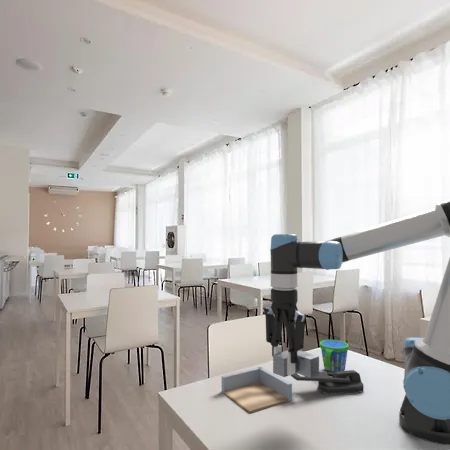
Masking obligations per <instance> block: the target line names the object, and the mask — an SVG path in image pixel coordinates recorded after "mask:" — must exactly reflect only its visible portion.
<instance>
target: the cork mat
mask: <svg viewBox="0 0 450 450" xmlns="http://www.w3.org/2000/svg"><path fill="white" fill-rule="evenodd" d="M223 394H224V395H226V397H228V398H230V399H231V400H232V401H233V402H235V403H236V404H237V405H239V406H240V408H242V409H243V410H245V411H247V412H248V413H249V414H252V413H254V412H257V411H262V410H264V409H267V408H271V407H274V406H277V405H280V404H283V403H286V402H287V403H288V402H289V401H288V399H287V398H286V397H284V396H283V395H281V394H279V393H278V392H276V391H274V390H273V389H271V388H269V387H268V386H266V385H264V384H263V383H261V382H257V383H253V384H250V385H246V386H242V387H238V388H234V389H231V390H227V391H224V393H223Z"/></svg>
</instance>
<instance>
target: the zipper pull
mask: <svg viewBox="0 0 450 450" xmlns="http://www.w3.org/2000/svg"><path fill="white" fill-rule="evenodd" d="M290 377H291V378H292V379H294V380H295V381H301V382H302V381H304V382H317V383H318V384H317V385H318V386H317V387H318V391H320V392H322V393H323V394H327V395H344V394H345V395H346V394H348V395H349V394H360V393H362V392H364V383H363V382H362V377H361V375H360V373H359V372H357V371H356V370H354V369H353V370H352V369H351V370H349V369H348V370H344V371H337V372H334V373H330V372H328V371H326V372H325V371H319V375H317V376H315V377H312V378H309V377H306V376H302V375H300V374H298V373H295V374H292V375H290Z"/></svg>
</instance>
